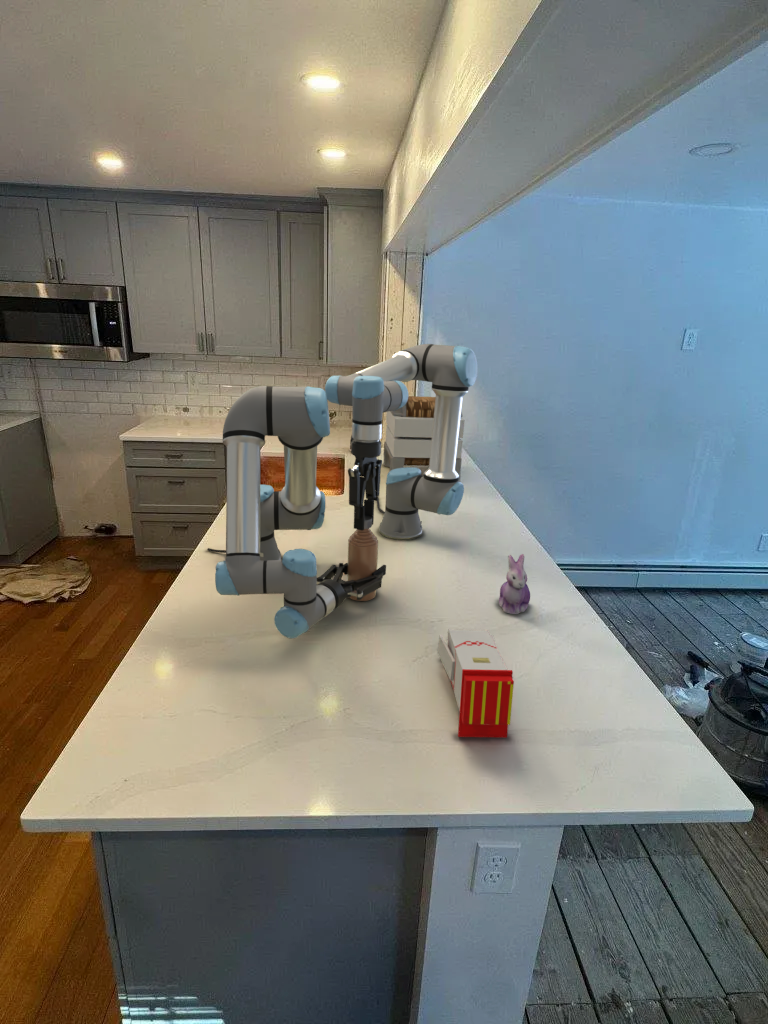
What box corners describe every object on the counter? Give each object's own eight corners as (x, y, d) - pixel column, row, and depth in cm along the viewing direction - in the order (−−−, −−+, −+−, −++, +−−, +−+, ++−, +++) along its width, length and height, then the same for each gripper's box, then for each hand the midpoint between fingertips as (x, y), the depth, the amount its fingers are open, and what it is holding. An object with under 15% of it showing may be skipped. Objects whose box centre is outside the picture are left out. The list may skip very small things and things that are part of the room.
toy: (488, 613, 130) (523, 677, 101) (484, 667, 133) (517, 744, 104) (435, 612, 130) (455, 676, 101) (432, 666, 133) (451, 743, 103)
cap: (374, 527, 149) (374, 519, 148) (359, 529, 147) (359, 521, 147) (367, 522, 153) (367, 514, 152) (352, 524, 151) (353, 515, 150)
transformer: (382, 463, 289) (386, 382, 275) (445, 464, 293) (451, 384, 279) (390, 482, 257) (394, 392, 243) (460, 483, 261) (468, 394, 247)
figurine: (512, 619, 147) (519, 566, 142) (488, 601, 156) (494, 551, 151) (540, 611, 151) (548, 560, 146) (515, 594, 160) (522, 546, 155)
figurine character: (361, 456, 307) (362, 446, 320) (362, 442, 303) (362, 433, 317) (349, 455, 306) (350, 446, 320) (349, 442, 303) (350, 433, 316)
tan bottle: (348, 601, 153) (349, 525, 145) (345, 587, 160) (347, 514, 153) (377, 600, 154) (380, 524, 146) (374, 586, 161) (377, 514, 154)
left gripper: (290, 600, 146) (339, 568, 165) (360, 623, 136) (403, 587, 155) (290, 574, 143) (340, 544, 162) (361, 596, 134) (404, 562, 153)
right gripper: (370, 432, 151) (367, 514, 159) (335, 443, 137) (333, 533, 145) (395, 435, 148) (391, 519, 156) (361, 448, 133) (358, 539, 141)
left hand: (371, 565), depth 159 cm, fingers closed on tan bottle, 8 cm apart
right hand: (363, 526), depth 150 cm, fingers closed on cap, 4 cm apart
